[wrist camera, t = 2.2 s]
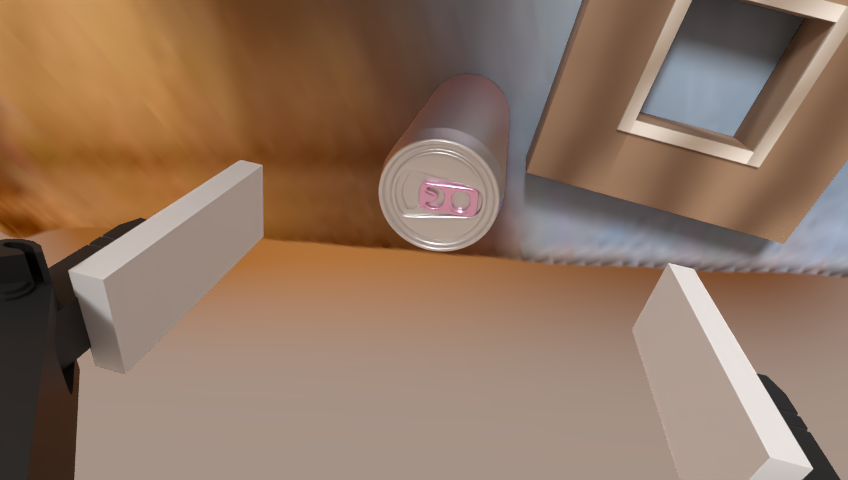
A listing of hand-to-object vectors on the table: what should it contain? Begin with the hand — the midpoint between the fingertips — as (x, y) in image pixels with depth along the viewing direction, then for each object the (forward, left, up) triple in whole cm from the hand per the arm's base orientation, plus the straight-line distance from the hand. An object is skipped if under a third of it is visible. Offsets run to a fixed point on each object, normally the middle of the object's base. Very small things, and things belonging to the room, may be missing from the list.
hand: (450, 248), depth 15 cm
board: (+13, +6, -21) cm, 25 cm away
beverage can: (-1, -1, -21) cm, 21 cm away
